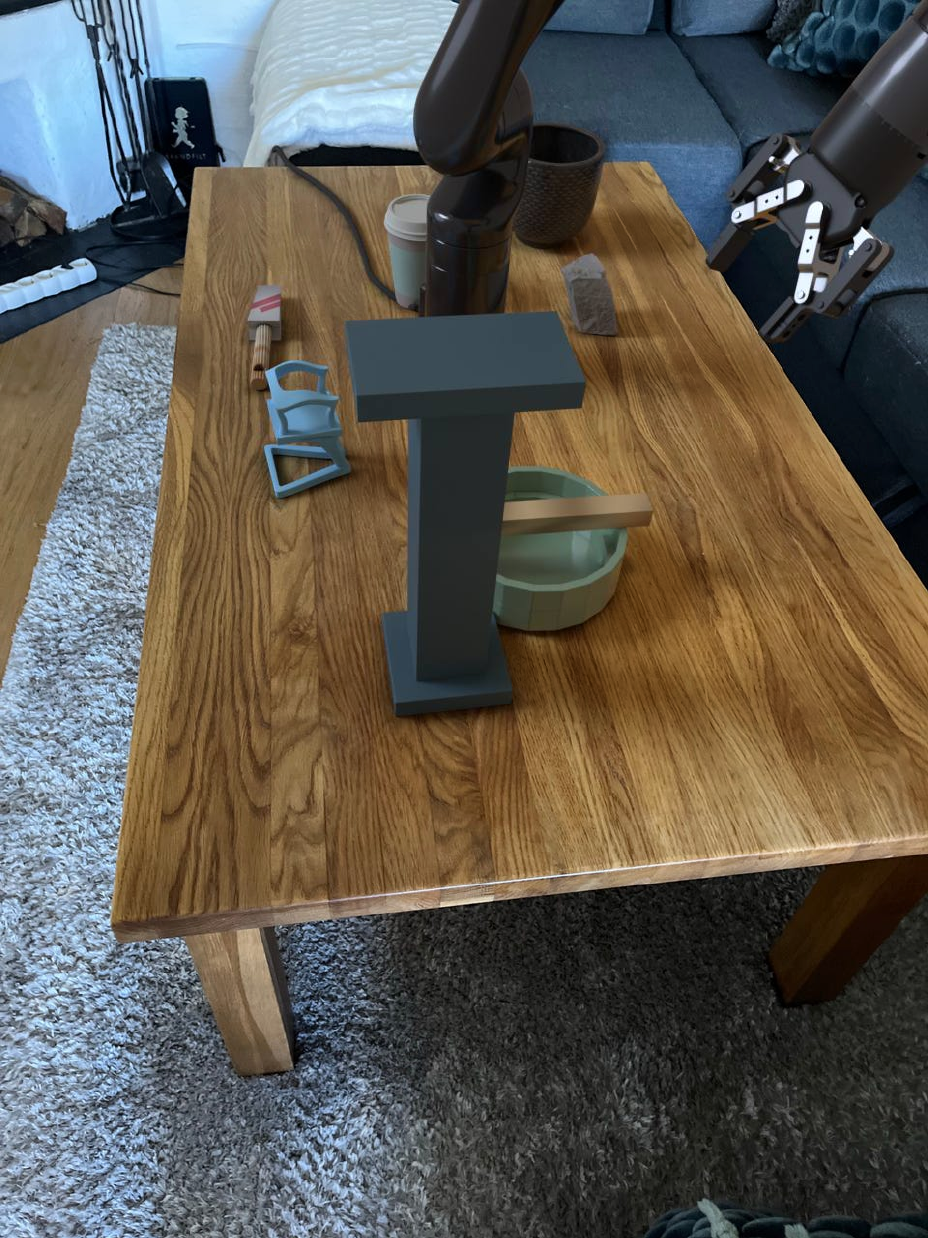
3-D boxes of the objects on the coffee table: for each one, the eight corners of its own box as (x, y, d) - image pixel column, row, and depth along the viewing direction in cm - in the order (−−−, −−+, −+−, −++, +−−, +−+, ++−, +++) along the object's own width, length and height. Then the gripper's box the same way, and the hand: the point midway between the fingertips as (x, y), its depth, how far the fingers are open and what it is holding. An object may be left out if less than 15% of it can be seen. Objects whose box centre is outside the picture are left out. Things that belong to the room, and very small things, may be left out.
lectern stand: (371, 719, 78) (358, 405, 54) (360, 629, 85) (343, 311, 61) (533, 701, 81) (590, 391, 56) (510, 614, 87) (552, 302, 63)
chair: (355, 486, 97) (351, 390, 88) (275, 499, 95) (262, 402, 86) (340, 440, 102) (335, 344, 93) (264, 451, 100) (250, 355, 91)
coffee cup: (459, 289, 124) (464, 199, 114) (437, 322, 118) (440, 230, 109) (399, 275, 125) (399, 186, 116) (374, 307, 120) (372, 216, 111)
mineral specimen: (595, 294, 123) (613, 243, 116) (619, 341, 120) (639, 292, 113) (544, 299, 121) (559, 248, 114) (567, 348, 118) (584, 298, 111)
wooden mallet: (415, 552, 83) (416, 532, 81) (409, 514, 86) (409, 494, 84) (653, 536, 86) (659, 516, 84) (638, 499, 89) (644, 479, 87)
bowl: (411, 557, 91) (411, 511, 87) (536, 489, 98) (542, 444, 94) (525, 664, 83) (532, 620, 79) (651, 581, 91) (664, 537, 86)
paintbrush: (284, 274, 118) (273, 374, 106) (286, 294, 120) (275, 394, 108) (253, 274, 117) (238, 374, 105) (256, 293, 120) (241, 393, 107)
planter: (594, 263, 130) (610, 168, 120) (494, 257, 129) (502, 162, 120) (587, 215, 139) (601, 123, 129) (494, 210, 139) (501, 117, 129)
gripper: (811, 38, 65) (666, 236, 76) (932, 161, 59) (755, 358, 69) (869, 72, 69) (725, 254, 80) (987, 190, 63) (813, 371, 74)
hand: (739, 302), depth 75 cm, fingers open, 8 cm apart
